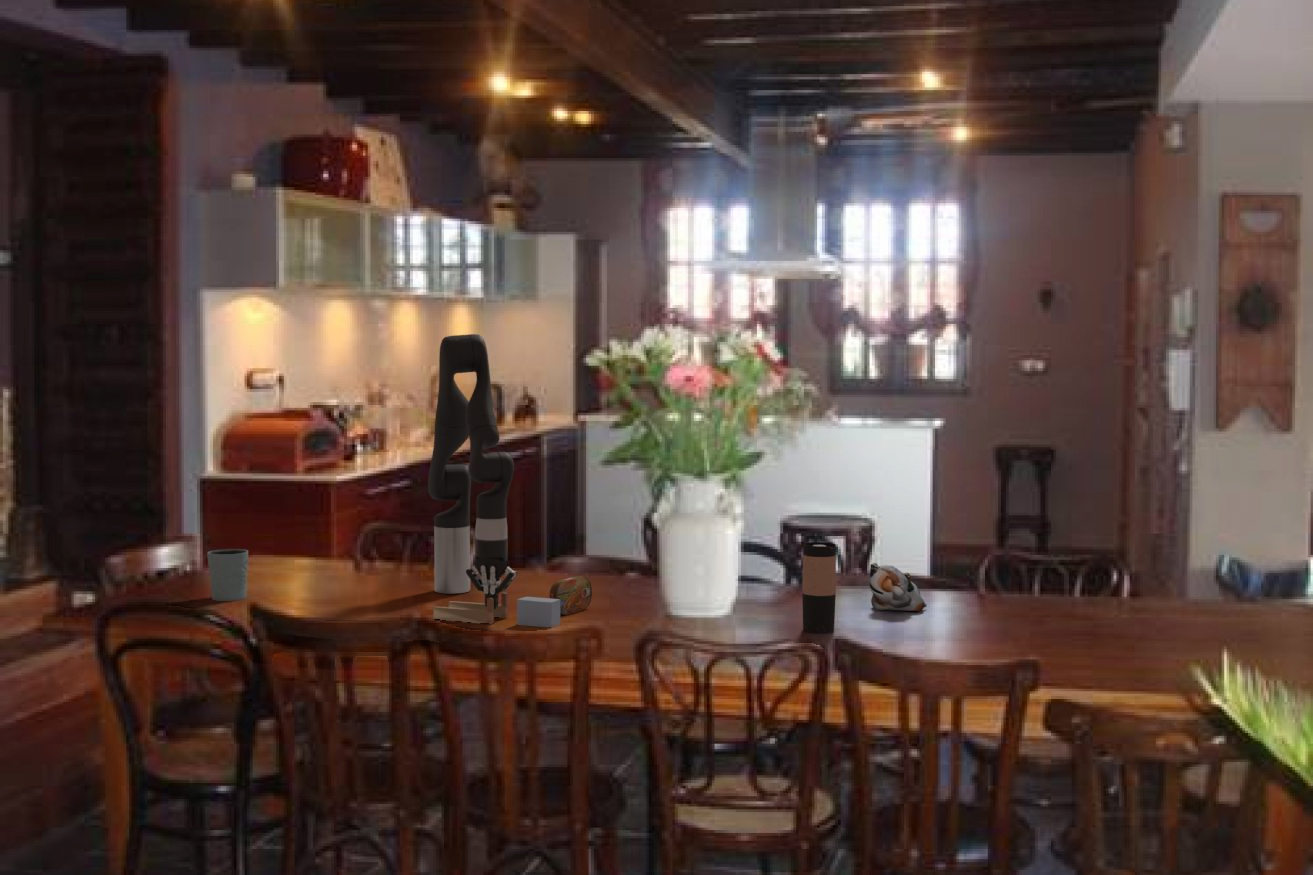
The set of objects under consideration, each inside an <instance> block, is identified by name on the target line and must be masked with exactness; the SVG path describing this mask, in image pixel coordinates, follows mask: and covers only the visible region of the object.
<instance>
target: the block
mask: <svg viewBox="0 0 1313 875" xmlns="http://www.w3.org/2000/svg"><path fill="white" fill-rule="evenodd" d="M516 625H519V626H526V627H527V626H529V627H531V626H532V627H538V628H539V627H541V628H549V627H551V628H550V629H552V628H554V627H553V626H555V627H557V626H560V625H561V614H560V599H550V597H549V598H548V597H547V598H546V597H537V596H536V597H534V596H524V597H521V598H518V599H517V600H516Z"/></svg>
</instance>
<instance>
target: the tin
mask: <svg viewBox="0 0 1313 875" xmlns="http://www.w3.org/2000/svg"><path fill="white" fill-rule="evenodd" d="M592 588H593V587H592V584H591V581H590V579H589V578H588V577H586V576H583V575H581V576H576V575H575V576H571V577H568V578H565V579H560V580H557V581H555V582H554V583H553V584H552V585H551V587H550V590H549V598H550V599H560V615H563V616H568V615H571V614H574V613H578V612H581V611H585V610H586V609H588V608H589V606H590V605H591V604H590V603H591V601H592V598H593V589H592Z"/></svg>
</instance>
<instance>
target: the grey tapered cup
mask: <svg viewBox="0 0 1313 875" xmlns="http://www.w3.org/2000/svg"><path fill="white" fill-rule="evenodd" d="M206 556H207V563H208V569H209V570H208V571H209V580H210V593H211V599H212V600H213V601H216V602H234V601H235V602H236V601H242V600H245V599H247V597H248V595H247V594H248V585H247V584H248V564H249V550H248V549H243V548H242V549H241V548H227V549H226V548H224V549H215V550H209V551H207V553H206Z"/></svg>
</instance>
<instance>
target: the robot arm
mask: <svg viewBox="0 0 1313 875" xmlns="http://www.w3.org/2000/svg"><path fill="white" fill-rule="evenodd" d="M439 346H440V347H439V356H438V357H439V360H438V361H439V363H438V364H439V368H438V369H439V370H438V371H439V372H438V378H439V379H438V394H437V395H438V396H437V402H436V403H437V404H436V409H435V418H434V430H433V431H434V433H433V436H434V437H433V449H432V454H431V455H432V456H431V461H430V466H429V473H428V480H427V481H428V482H427V488H428V489H427V490H428V494H429V496H430V498H431V499H433V500H436V501H456V503H455V505H453V506H452V507H451V508H448V509H447V510H445V511H442V512H440V513H437V514H436V515H435V516H434V518H433V519H434V520H433V523H434V524H433V530H434V531H433V532H434V535H433V536H434V540H433V541H434V546H433V547H434V549H433V550H434V552H433V554H434V593H435V592H436V593H439V594H450V595H451V594H464V593H467V592H468V593H469V592H470V591H471V586H472V584H473V585H474V587H475V588H476V590H477V591H478V592H479V591H480V592H482V593H484V603H485V606H486V607H487V598H494V609H496V607H498V605H499V594H500V593H503V592H505V591H506V590H507V589H508V588H509V586H510V585H511V583H512V582H513V581H514V579H515V578H516V577H517V575H518V571H517V570H513V569H512V568H511V567H510V562H509V561H508V523H507V522H508V520H507V503H508V502H507V499H508V495H509V490H510V486H511V483H512V480H513V477H514V473H515V472H514V471H515V461H514V460H513V457H512V456H511V454H509V452H506V451H495V452H494V451H492V452H491V451H490V452H488V451H487V452H484V450H488V449H491V448H493V447H495V446H497V444H498V443H499V441H500V432H499V429H498V428H499V427H498V423H497V420H496V415H495V411H494V406H493V405H494V404H493V397H492V394H493V393H492V383H491V373H490V364H489V354H488V349H487V345H486V341H485V339H484V338H483V336H482V335H480V334H478V333H477V334H475V333H473V334H459V335H458V334H457V335H449V336H448V335H447V336H445V337H443V338H442V340H441V342H440V345H439ZM463 373H464V374H467V373H475V374H476V382H475V386H474V389H473V392H472V394H471V396H470V399H469V400H468V398H467V397H466V395H465V394H464V393H463V391H462V390H461V389H460V388H459V387H458V384H457V382H456V380H455V375H456V374H463ZM468 439H469V460H468V461H469V462H468V465H467V464H448V462H449V460H450V458H451V457H452V456H453V455H454V454H455V453H456V452H457V451H458V450H459V449H460V448H461V447H462V446H463V445H464V444H465V442H466V441H467V440H468ZM472 480H473V481H474V482H476V483H480V484H482V483H495V484H494V486H493V487H492V488H491V489H490V490H487V491H484V492H481V493H479V494H478V495H477V496H476V518H475V519H476V523H475V532H474V535H475V560H474V562H473V565H472V566H471V537H470V536H471V533H470V532H471V527H470V526H471V522H470V521H471V520H470V519H471V517H470V516H471V507H470V506H471V490H472V489H471V488H472V485H471V484H472ZM503 576H504V577H505V578H504V579H503V581H502V578H503ZM501 581H502V582H501ZM471 583H472V584H471Z"/></svg>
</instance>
